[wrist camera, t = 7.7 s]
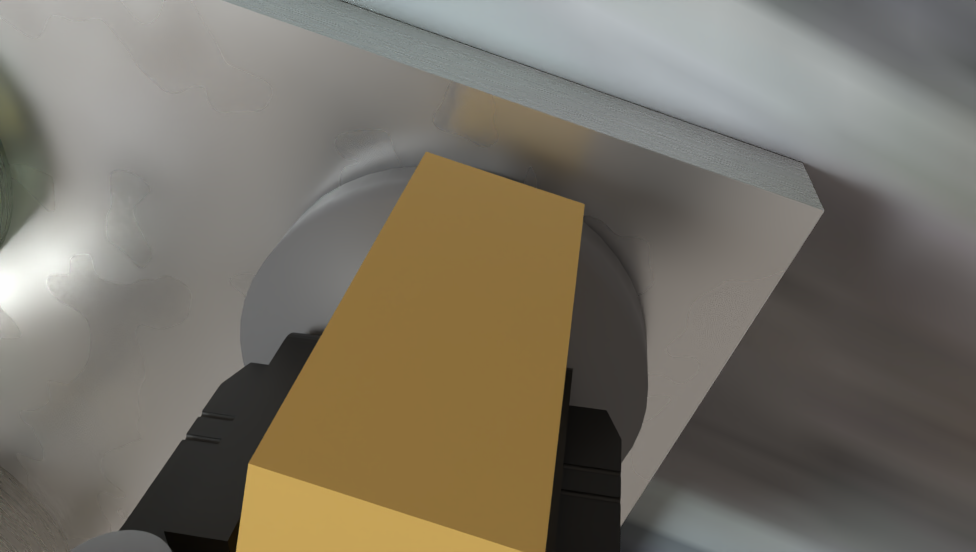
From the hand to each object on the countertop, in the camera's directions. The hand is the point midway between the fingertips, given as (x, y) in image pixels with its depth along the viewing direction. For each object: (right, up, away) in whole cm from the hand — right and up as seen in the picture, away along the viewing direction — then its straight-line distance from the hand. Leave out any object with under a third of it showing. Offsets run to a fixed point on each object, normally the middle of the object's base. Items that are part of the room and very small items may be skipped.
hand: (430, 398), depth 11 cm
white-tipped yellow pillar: (0, +1, +1) cm, 1 cm away
